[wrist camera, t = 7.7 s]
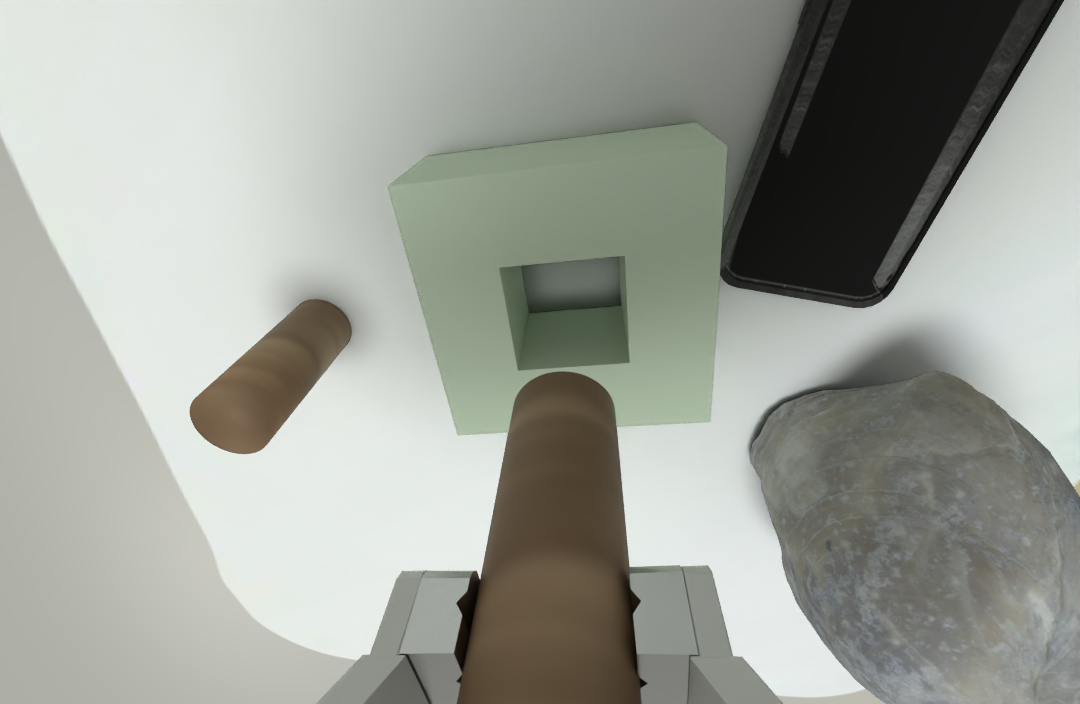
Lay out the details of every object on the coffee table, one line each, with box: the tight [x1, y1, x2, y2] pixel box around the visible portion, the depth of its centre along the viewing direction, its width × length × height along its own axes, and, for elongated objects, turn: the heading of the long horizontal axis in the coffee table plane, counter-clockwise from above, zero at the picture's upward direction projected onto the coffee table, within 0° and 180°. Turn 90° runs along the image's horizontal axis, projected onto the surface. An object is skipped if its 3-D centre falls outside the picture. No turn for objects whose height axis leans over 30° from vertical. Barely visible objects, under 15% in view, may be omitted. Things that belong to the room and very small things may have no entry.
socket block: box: [388, 122, 728, 435], centre depth 21 cm, size 11×11×5 cm
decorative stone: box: [750, 371, 1080, 704], centre depth 21 cm, size 15×10×15 cm
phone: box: [720, 0, 1064, 308], centre depth 19 cm, size 8×1×15 cm
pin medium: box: [190, 300, 351, 454], centre depth 22 cm, size 3×3×8 cm
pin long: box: [457, 371, 642, 704], centre depth 10 cm, size 3×3×12 cm
